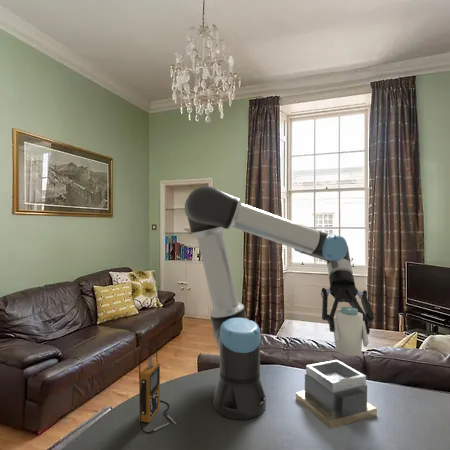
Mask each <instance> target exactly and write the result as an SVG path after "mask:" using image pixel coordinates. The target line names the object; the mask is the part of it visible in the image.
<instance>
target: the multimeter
mask: <svg viewBox="0 0 450 450" xmlns="http://www.w3.org/2000/svg"><path fill="white" fill-rule="evenodd" d="M152 341H155V343H156V345H158V341H157V340H156V338H155V339H150V340H149V346H148V345H144V346H143V347H142V348H141V351H140V353H139V362H138V379H139V381H138V382H139V393H138V396H139V399H138V400H139V404H138V406H139V412H138V413H139V415H138V417H139V418H138V419H139V420H138V421H139V423H140V429H141V431H142V432H143V433H146V434H151V433H153V432H156V431H158V430H161V429H162V428H165V426H167V425H169V424H170V422H168V423H165V424H162V425H160V426H157V427H156V428H154V429H152V430H151V431H146V430H144V429H143V426H142V425H143V424H142V422H144V423H150V422H151V420H152V419H153V418H154V416H155V415H156V413H157V412H159V410H160V403H165V404H167V406H168V407H167V408H166V409H165V410H164V411H163V413H164V414H165V415H166V416H167V418H168V419H169V420H170V421H171V422H172V423H174V424H175V425H176V424H177V423H176V421H174V419H173V418H172V417H171V415H169V414H167V411H168V409H170V404H169V403H168V402H167V401H164V400H161V399H160V396H161V395H160V392H161V390H160V387H161V386H160V385H161V383H160V382H161V380H160V379H161V363H160V362H158V348H156V351H155V352H156V353H155V358H156V362H153V359H152V358H153V356H152V355H151V349H152V345H151V342H152ZM144 348H147V349H148V364H147V366H145V367H144V368H143V369H142V370H141V361H142V360H141V358H142V352H143V350H144Z"/></svg>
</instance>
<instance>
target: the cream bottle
mask: <svg viewBox="0 0 450 450" xmlns="http://www.w3.org/2000/svg"><path fill="white" fill-rule="evenodd" d="M335 319H337V325H338V333H339V343H338V345H335V349H334V350H335V351H336V352H337V353H338V354H340V355H343V356H347V357H359V356H361V355H362V351H363V350H362V349H363V340H362V324H363V314H362V313H360V312H358V309H356V308H352V306H342V307H341V309H337V310H336V318H335Z"/></svg>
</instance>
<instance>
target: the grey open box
mask: <svg viewBox="0 0 450 450" xmlns="http://www.w3.org/2000/svg"><path fill="white" fill-rule="evenodd" d="M295 400H296V401H297V402H299V403H300V404H301V405H302V406H303V407H304V408H306V409H307V410H308V411H309V412H310V413H311V414H312V415H313V416H315V418H317V419H318V420H319V421H320V422H321V423H323V424H324V425H325V426H326V427H327V428H328V429H330V430H331V429H334V428H338V427H341V426H346V425H348V424H351V423H355V422H359V421H362V420H367V419H370V418H373V417H376V416H377V415H378V408H377V407H375V406H374V405H372V404H371V403H369V402H368V385H367V375H366V374H363V373H362V372H360V371H358V370H356V369H355V368H352V367H351V366H349V365H347V364H345V363H344V362H343V361H341V360H338V359H334V360H333V359H332V360H329V361H328V360H327V361H323V362H318V363H312V364H307V365H306V366H305V373H304V390H301V391H296V392H295Z"/></svg>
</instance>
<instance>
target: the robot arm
mask: <svg viewBox="0 0 450 450" xmlns="http://www.w3.org/2000/svg"><path fill="white" fill-rule="evenodd" d="M184 212H185V215H186V218H187V221H188V225H189V229H190V234H191V235H192V236H194V237H195V238H197V243H198V249H199V252H200V256H201V260H202V266H203V269H204V274H205V277H206V282H207V283H206V284H207V287H208V292H209V296H210V300H211V303H212V310H211V311H210V312H209V315H210V320H211V325H212V334H213V337H214V339H215V340H216V344H217V347H218V350H219V378H218V382H217V385H216V387H215V391H214V393H213V399H212V400H213V403H212V404H213V407H214V410H215V411H216V412H217V414H219V415H221V416H223V417H225V418H229V419H232V420H239V421H240V420H241V421H242V420H250V419H254V418H257V417H259V416H261V415H262V414H263V413H264V411H266V406H267V403H266V402H267V401H266V400H267V399H266V397H267V396H266V394H265V391H264V388H263V384H262V380H261V341H262V336H261V329H260V326H259V324H258V323H256V322H255V321H254V320H250V319H249V318H247V314H246V313H247V312H246V309H245V305H244V304H243V303H241V302H239V299H238V295H237V292H236V286H235V281H234V276H233V273H232V269H231V264H230V263H231V262H230V259H229V255H228V251H227V247H226V246H227V245H226V242H225V238H224V233H223V231H224V230H225V229H226V230H229V229H231V228H234V229H236V230H239V231H242V232H245V233H248V234H251V235H253V236H258V237H260V238H263V239H266V240H269V241H270V242H275V243H277V244H280V245H283V246H285V247H286V246H287V247H290V248H292V249H293V250H294V251H295V252H298V253H300V254H303V255H307V256H309V257H313V258H316V259H319V260H322V261H326V264H327V265H326V266H327V271H328V279H329V288H325V287H322V288H321V291H320V295H321V298H322V302H321V303H322V305H321V307H322V308H321V319H322V321H327V323H328V326H329V332H330V333H333V337H334V338H333V339H334V345H335V346H336V345H338V343H339V333H338V325H337V319H336V318H335V316H336V313H337V310H338V304H339V303H346V304H347V303H348V304H349V307H352V308H356V309H358V312H360V313H362V314H363V324H362V347H363V348H367V346H368V345H369V338H368V337H369V336H368V335H370V332H371V329H370V326H369V325H370V324H372V323H373V322H374V319H375V316H374V313H373V310H372V308H371V304H370V301H369V299H368V291H367V290H365V289H364V290H362V291H361V290H359V289H358V288H357V287H356V283H355V278H354V275H353V274H354V273H353V272H354V271H353V268H352V262H351V257H350V250H349V246H348V243H347V240H346V238H344V236H342V235H341V236H340V235H336V234H329V233H326V232H323V231H321V230H318V229H315V228H312V227H310V226H306V225H304V224H301V223H299V222H296V221H293V220H290V219H287V218H284V217H282V216H280V215H276V214H273V213H271V212H268V211H265V210H263V209H259V208H256V207H253V206H251V205H249V204H246V203H243V202H241V199H240V198H239V197H236V196H234V195H231V194H229V193H228V192H227V193H226V192H224V191H222V190H221V189H217V188H215V187H213V186H208V185H207V186H206V185H203V186H198V187H196V188H195V189H193V190H192V191H191V192H190V193H189V195H188V196H187V198H186V200H185V204H184ZM329 295H331V296H332V297H333V298H334V301H333V304H332V306H331V311H330V314H328V302H329V301H328V299H329V298H328V297H329ZM356 296H358V298H359V299H360V302H361V305H362V306H361V305H360V303H359V302H358V300H357V299H358V298H357V297H356Z"/></svg>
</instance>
